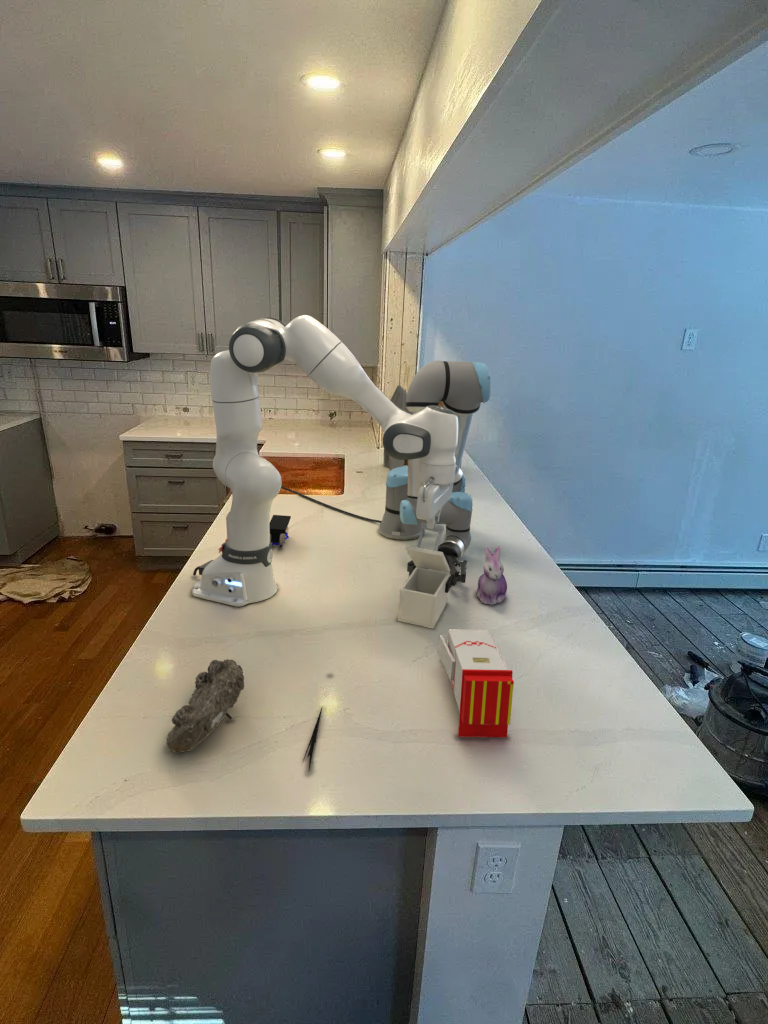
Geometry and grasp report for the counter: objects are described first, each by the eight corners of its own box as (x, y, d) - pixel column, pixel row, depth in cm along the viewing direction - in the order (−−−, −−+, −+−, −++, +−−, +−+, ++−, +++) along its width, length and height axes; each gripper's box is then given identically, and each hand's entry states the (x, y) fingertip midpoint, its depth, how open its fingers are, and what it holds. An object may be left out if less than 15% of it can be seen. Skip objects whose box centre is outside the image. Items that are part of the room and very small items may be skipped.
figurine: (489, 609, 152) (495, 558, 146) (466, 592, 160) (471, 543, 155) (516, 602, 156) (523, 552, 151) (493, 586, 164) (499, 538, 159)
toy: (488, 613, 130) (523, 677, 101) (484, 667, 133) (517, 744, 104) (435, 612, 130) (455, 676, 101) (432, 666, 133) (451, 743, 103)
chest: (433, 628, 141) (436, 596, 138) (397, 620, 144) (399, 589, 141) (446, 603, 154) (449, 573, 151) (414, 596, 157) (416, 566, 154)
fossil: (192, 660, 117) (244, 628, 112) (224, 691, 120) (276, 661, 115) (142, 746, 98) (202, 712, 93) (182, 779, 101) (242, 748, 96)
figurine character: (285, 555, 182) (292, 533, 195) (285, 534, 178) (291, 513, 192) (264, 554, 181) (272, 532, 195) (263, 534, 178) (271, 512, 191)
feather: (331, 679, 122) (336, 673, 122) (307, 777, 96) (313, 769, 95) (324, 675, 122) (329, 669, 121) (298, 772, 95) (304, 764, 95)
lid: (441, 556, 137) (449, 523, 140) (405, 549, 140) (413, 517, 143) (449, 573, 151) (456, 543, 153) (415, 566, 154) (423, 537, 156)
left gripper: (437, 485, 129) (433, 541, 134) (459, 465, 147) (454, 515, 152) (411, 481, 131) (407, 537, 136) (435, 462, 149) (432, 511, 154)
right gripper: (484, 571, 167) (467, 605, 148) (413, 557, 174) (388, 588, 154) (486, 548, 165) (470, 579, 145) (414, 535, 172) (389, 563, 152)
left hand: (432, 525), depth 144 cm, fingers closed
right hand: (428, 584), depth 150 cm, fingers closed on chest, 9 cm apart
